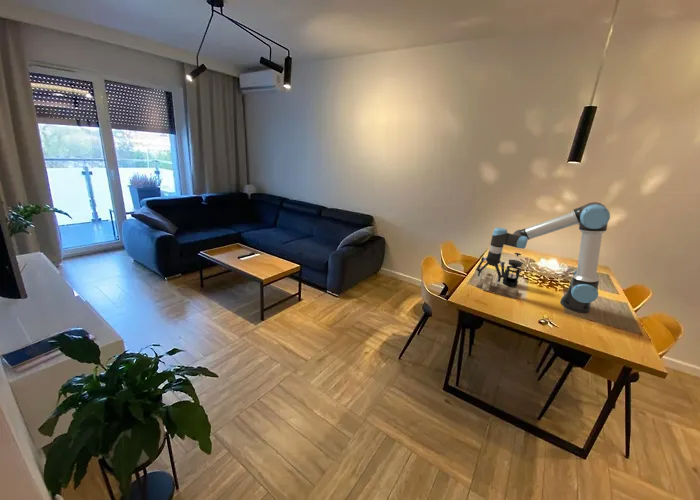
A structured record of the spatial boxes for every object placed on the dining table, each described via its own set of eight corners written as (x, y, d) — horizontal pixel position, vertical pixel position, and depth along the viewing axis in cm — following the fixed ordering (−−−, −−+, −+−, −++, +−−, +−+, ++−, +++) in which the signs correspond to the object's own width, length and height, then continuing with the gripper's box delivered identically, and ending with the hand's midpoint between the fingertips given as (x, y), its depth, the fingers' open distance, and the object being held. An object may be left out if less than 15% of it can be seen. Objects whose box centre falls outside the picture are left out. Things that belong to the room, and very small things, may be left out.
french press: (510, 280, 218) (518, 250, 210) (521, 286, 210) (529, 255, 202) (497, 281, 214) (505, 251, 206) (507, 288, 206) (516, 256, 198)
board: (518, 292, 200) (518, 289, 200) (515, 299, 191) (516, 296, 190) (480, 281, 213) (480, 278, 212) (475, 287, 204) (476, 284, 203)
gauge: (490, 287, 204) (494, 273, 200) (488, 291, 198) (491, 276, 194) (484, 285, 206) (487, 271, 203) (481, 289, 200) (485, 274, 196)
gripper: (515, 254, 190) (506, 286, 198) (478, 246, 202) (471, 276, 210) (513, 258, 184) (504, 290, 192) (475, 248, 196) (468, 280, 204)
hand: (487, 283), depth 201 cm, fingers open, 10 cm apart
